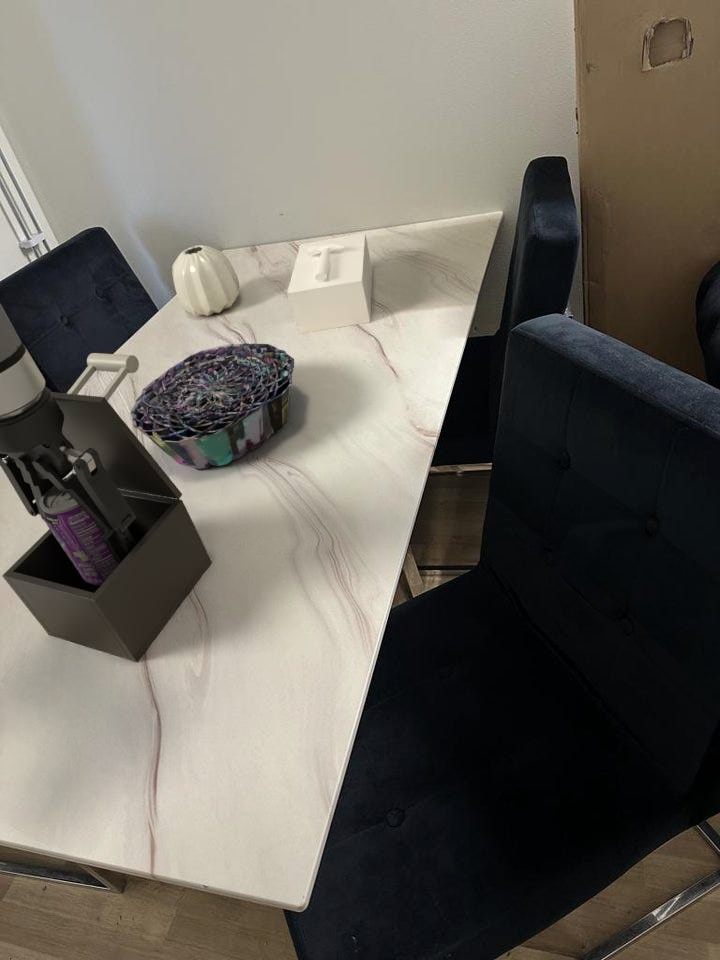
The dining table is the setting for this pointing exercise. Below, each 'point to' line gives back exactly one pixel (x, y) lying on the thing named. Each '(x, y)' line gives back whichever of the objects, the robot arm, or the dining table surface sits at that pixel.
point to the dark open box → (116, 581)
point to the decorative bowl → (217, 403)
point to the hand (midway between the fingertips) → (109, 561)
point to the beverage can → (78, 536)
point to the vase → (204, 280)
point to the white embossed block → (331, 284)
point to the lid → (111, 430)
